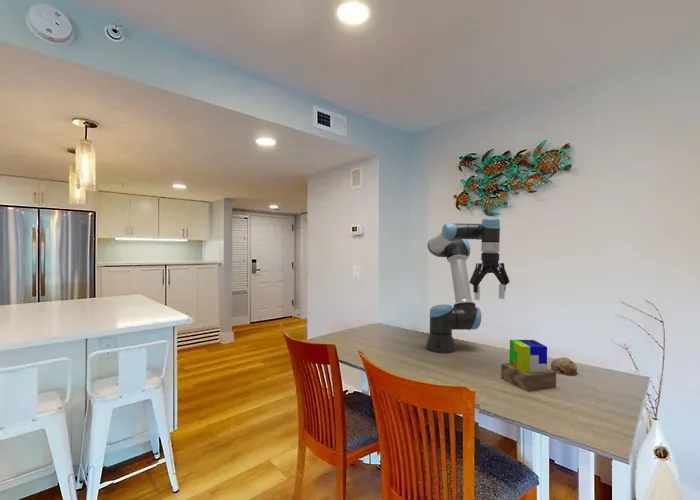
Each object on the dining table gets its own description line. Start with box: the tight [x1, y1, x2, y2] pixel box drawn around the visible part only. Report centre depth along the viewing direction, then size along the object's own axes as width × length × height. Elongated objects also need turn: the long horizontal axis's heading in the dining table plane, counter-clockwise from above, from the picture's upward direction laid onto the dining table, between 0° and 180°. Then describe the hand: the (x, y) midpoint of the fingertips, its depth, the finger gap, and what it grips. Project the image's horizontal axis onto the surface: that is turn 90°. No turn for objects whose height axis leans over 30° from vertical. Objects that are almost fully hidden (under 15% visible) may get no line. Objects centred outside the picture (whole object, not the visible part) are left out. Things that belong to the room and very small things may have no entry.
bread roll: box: [550, 357, 578, 376], centre depth 152 cm, size 10×10×8 cm
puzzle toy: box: [508, 339, 548, 372], centre depth 139 cm, size 10×10×10 cm
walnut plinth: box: [500, 362, 557, 392], centre depth 139 cm, size 14×14×6 cm
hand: (489, 299), depth 154 cm, fingers open, 13 cm apart
